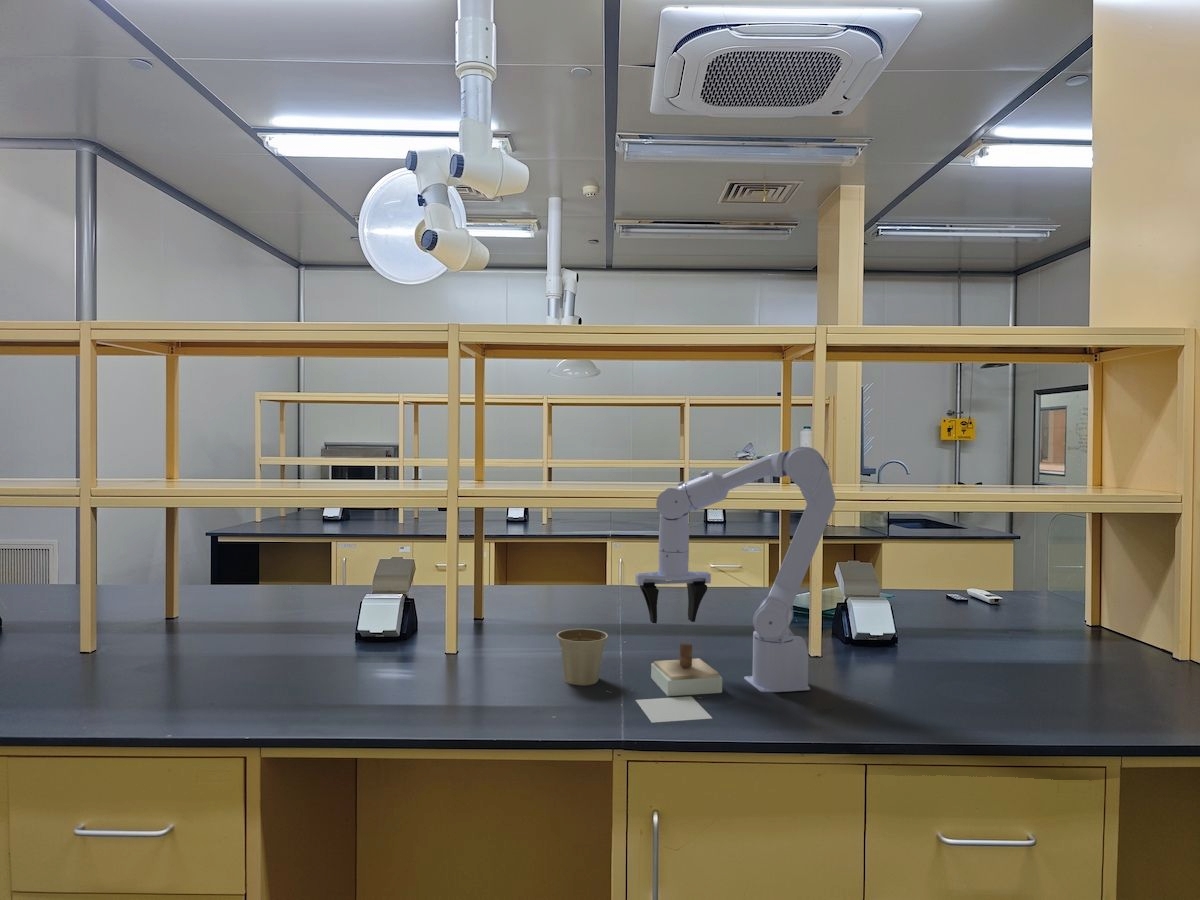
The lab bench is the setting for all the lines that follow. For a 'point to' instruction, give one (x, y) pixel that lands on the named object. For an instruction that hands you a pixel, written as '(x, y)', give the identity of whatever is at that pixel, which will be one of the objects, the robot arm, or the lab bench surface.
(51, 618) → the lab bench surface
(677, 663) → the lid
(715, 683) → the dish
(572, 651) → the flower pot
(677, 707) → the mat
